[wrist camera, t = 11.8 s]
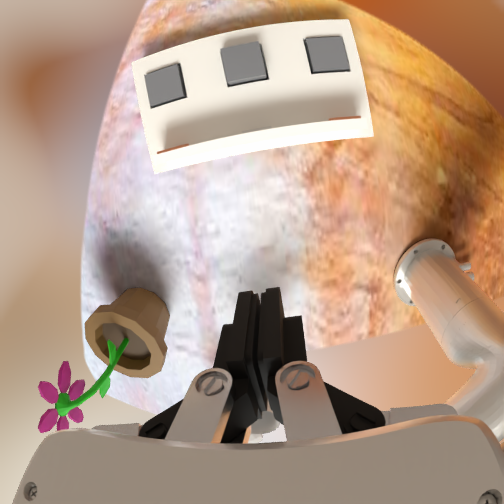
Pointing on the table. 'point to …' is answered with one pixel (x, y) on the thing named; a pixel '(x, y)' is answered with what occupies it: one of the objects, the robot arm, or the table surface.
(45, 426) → the flowerpot
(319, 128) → the button board
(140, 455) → the robot arm
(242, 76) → the button middle
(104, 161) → the table surface
